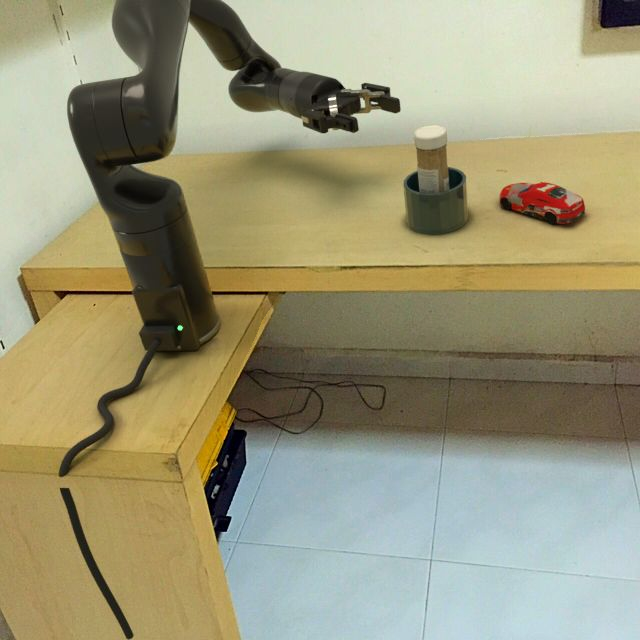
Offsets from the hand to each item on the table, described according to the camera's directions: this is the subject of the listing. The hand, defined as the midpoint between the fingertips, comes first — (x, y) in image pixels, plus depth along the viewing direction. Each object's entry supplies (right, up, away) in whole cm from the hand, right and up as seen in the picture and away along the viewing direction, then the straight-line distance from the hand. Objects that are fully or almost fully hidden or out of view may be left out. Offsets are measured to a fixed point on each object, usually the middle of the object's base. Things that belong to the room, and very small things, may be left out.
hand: (377, 115), depth 112 cm
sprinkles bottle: (+9, -15, +1) cm, 17 cm away
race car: (+24, -15, -2) cm, 28 cm away
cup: (+9, -15, +1) cm, 18 cm away
